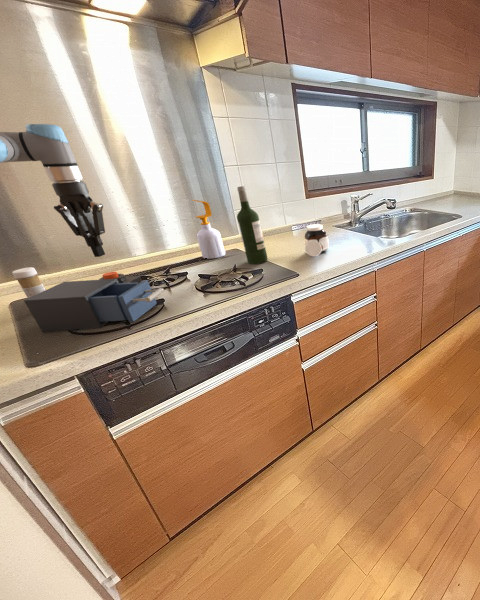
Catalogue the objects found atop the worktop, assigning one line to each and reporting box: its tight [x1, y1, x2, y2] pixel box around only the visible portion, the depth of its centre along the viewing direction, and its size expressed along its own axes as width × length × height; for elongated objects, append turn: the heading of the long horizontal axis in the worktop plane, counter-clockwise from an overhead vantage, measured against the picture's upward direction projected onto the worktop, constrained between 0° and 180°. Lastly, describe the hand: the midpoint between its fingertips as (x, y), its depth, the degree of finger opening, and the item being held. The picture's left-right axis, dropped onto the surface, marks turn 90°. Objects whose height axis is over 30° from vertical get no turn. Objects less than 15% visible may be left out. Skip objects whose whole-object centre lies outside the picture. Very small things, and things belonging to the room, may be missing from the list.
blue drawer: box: [88, 279, 165, 323], centre depth 92 cm, size 18×11×8 cm, turn 96°
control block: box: [98, 273, 143, 284], centre depth 113 cm, size 12×10×4 cm
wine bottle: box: [236, 185, 268, 265], centre depth 130 cm, size 8×8×30 cm
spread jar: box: [303, 223, 330, 257], centre depth 143 cm, size 12×11×12 cm
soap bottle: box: [192, 199, 226, 260], centre depth 139 cm, size 9×9×25 cm
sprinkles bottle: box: [11, 266, 47, 299], centre depth 96 cm, size 5×5×14 cm
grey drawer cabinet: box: [23, 279, 119, 333], centre depth 91 cm, size 15×13×10 cm
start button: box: [101, 271, 119, 279], centre depth 112 cm, size 4×4×2 cm
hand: (100, 255), depth 109 cm, fingers closed
